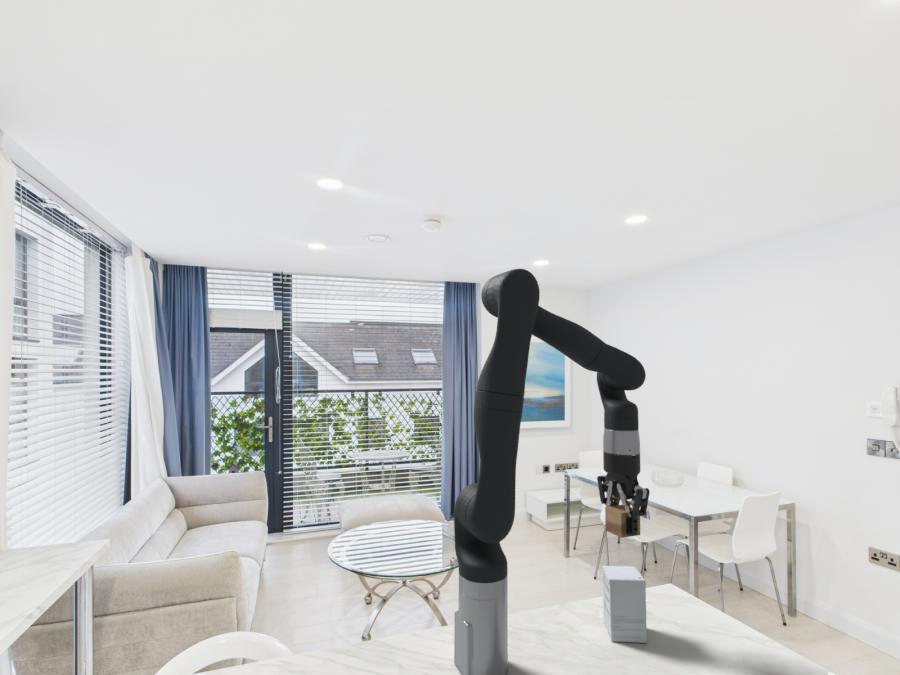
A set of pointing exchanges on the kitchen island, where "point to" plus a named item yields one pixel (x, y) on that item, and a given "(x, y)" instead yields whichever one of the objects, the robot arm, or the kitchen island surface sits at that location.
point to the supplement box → (624, 604)
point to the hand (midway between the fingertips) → (622, 530)
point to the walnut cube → (617, 521)
